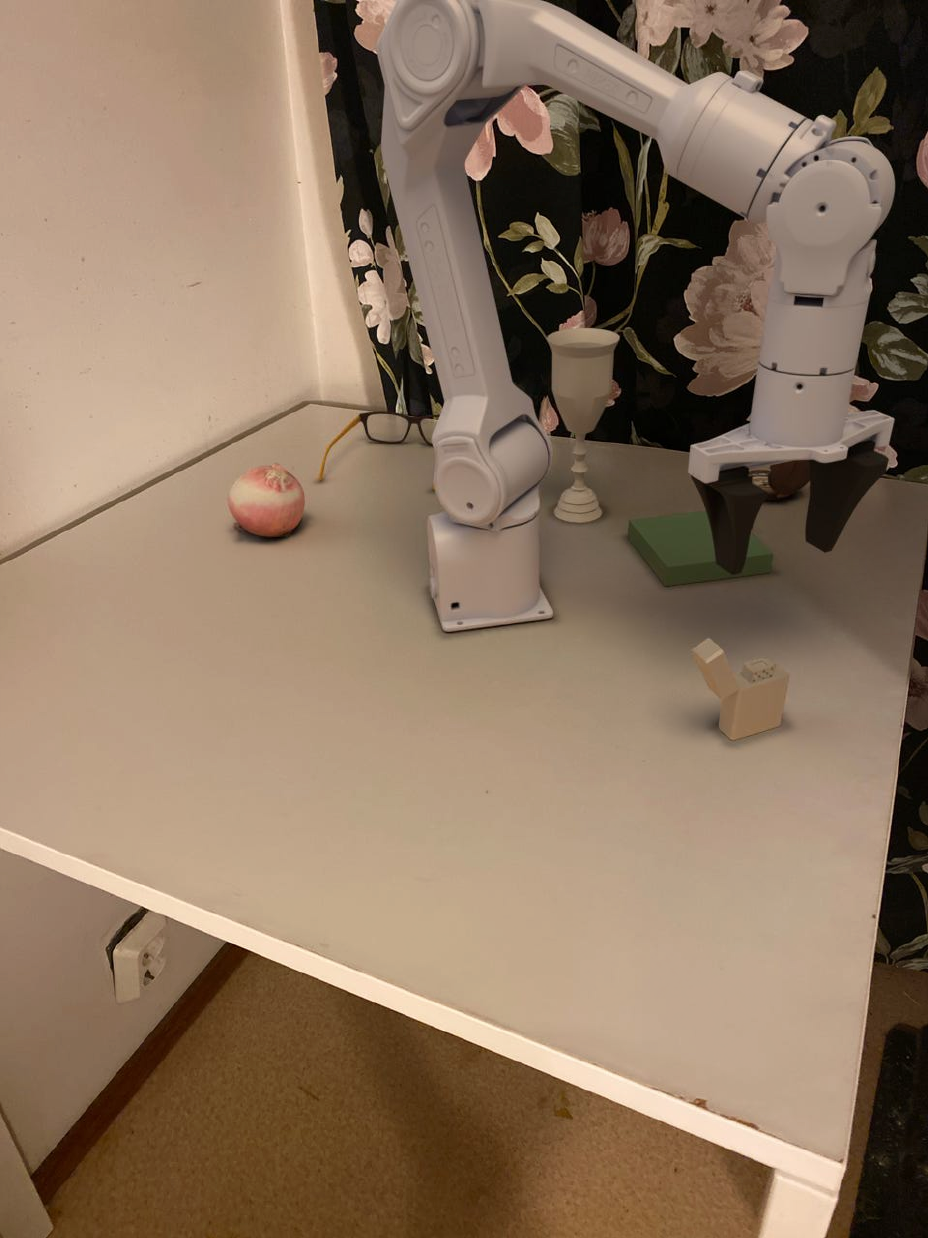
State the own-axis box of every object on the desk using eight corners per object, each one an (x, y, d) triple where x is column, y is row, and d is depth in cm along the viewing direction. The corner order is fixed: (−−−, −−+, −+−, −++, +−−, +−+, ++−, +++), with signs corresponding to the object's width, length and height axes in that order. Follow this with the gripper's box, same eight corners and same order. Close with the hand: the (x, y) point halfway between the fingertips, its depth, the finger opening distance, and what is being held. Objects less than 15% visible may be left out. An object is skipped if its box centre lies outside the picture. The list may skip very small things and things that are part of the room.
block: (665, 586, 77) (667, 566, 76) (627, 537, 85) (628, 519, 84) (770, 572, 78) (773, 553, 77) (723, 526, 87) (725, 507, 86)
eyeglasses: (470, 446, 109) (469, 415, 107) (434, 491, 97) (432, 458, 95) (365, 439, 112) (362, 409, 110) (318, 482, 101) (313, 449, 99)
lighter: (766, 711, 62) (783, 615, 57) (782, 725, 60) (800, 628, 56) (680, 737, 60) (691, 640, 55) (694, 752, 58) (707, 654, 54)
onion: (282, 553, 86) (270, 486, 82) (217, 542, 88) (203, 477, 85) (322, 519, 92) (312, 455, 88) (260, 511, 95) (248, 448, 91)
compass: (765, 474, 97) (774, 411, 93) (816, 500, 91) (829, 433, 87) (707, 489, 94) (714, 424, 91) (756, 516, 88) (766, 448, 84)
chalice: (614, 526, 88) (624, 346, 78) (547, 528, 88) (549, 349, 78) (606, 496, 94) (614, 326, 84) (543, 498, 94) (544, 329, 85)
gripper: (747, 398, 48) (720, 605, 56) (948, 362, 53) (899, 560, 60) (678, 367, 54) (661, 559, 61) (864, 336, 58) (828, 520, 65)
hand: (774, 556), depth 61 cm, fingers open, 7 cm apart
